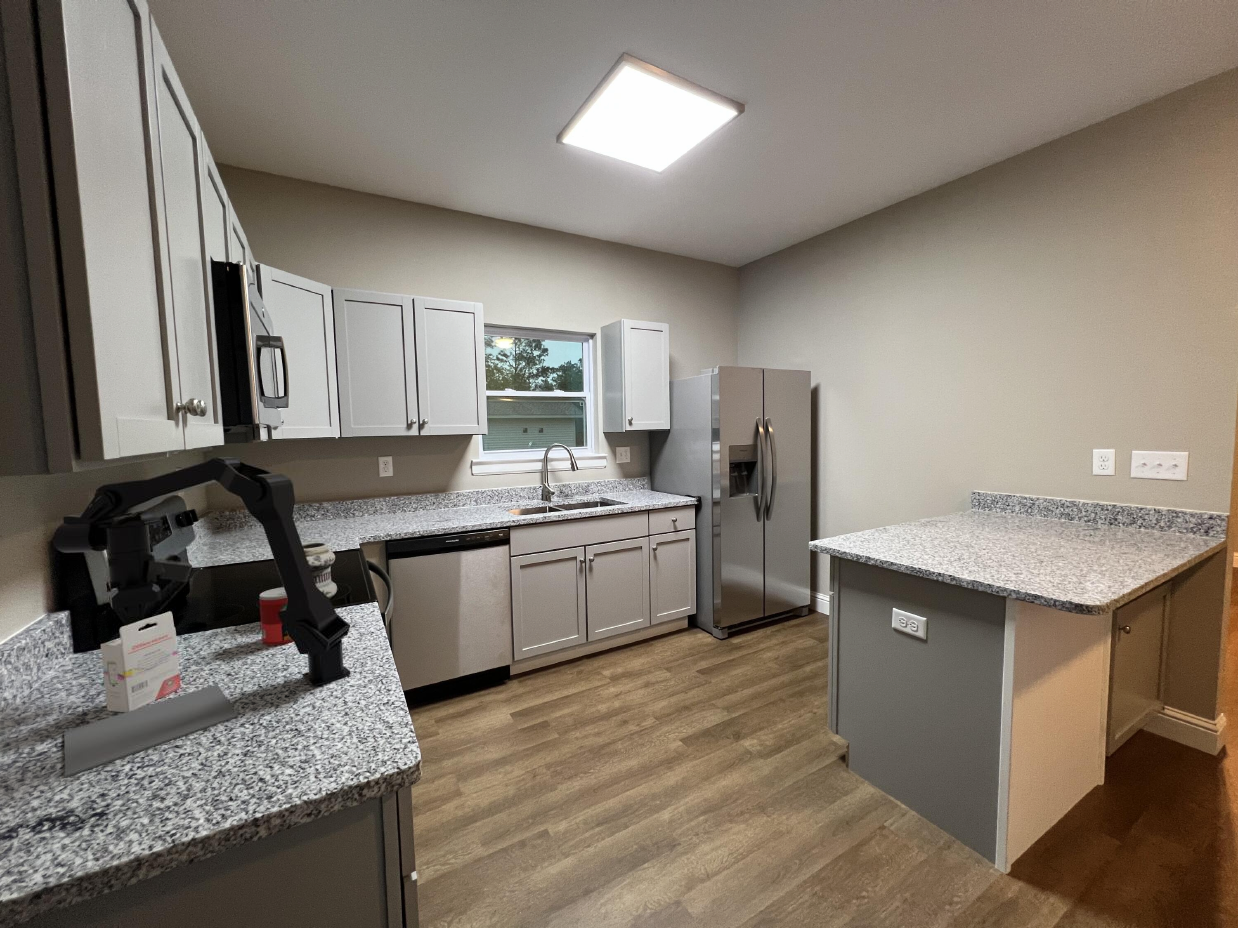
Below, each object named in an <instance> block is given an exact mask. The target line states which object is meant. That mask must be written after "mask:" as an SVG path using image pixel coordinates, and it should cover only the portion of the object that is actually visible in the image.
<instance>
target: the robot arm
mask: <svg viewBox="0 0 1238 928" xmlns="http://www.w3.org/2000/svg"><path fill="white" fill-rule="evenodd" d="M214 483H219V484H220V485H221V487H223V489H225V490H226V491H227V492H229V493H231V494H233V495H235V496H237V497H239V498H240V500H241V501H242V503H243V505H244V506H245V509H246V510H247V512H248V513H249V514H250V516H252V517H253V518H254V519H255V520H257V522H259V523H260V524H261V526H262V528H263V531H264V534H265V536H266V539H267V542H268V543H267V544H268V546H269V548H270V551H271V554H272V557H273V560H274V563H275V566H276V569H277V572H278V575H279V577H280V580H281V584H282V587H284V589H285V592H286V595H287V604H286V608H284V609H282V610H280V611H279V612H278V616H279V618H280V620H281V622H282V624H283V633H286V632H287V634H288V636H289V638H290V639H291V640H292V641H293V642H294V645H295V647H296V649H297V651H298V653H299V655H306V656H307V662H308V663H307V664H308V672H304V673H302V678H303V679H304V680H305V681H306V682H307V683H308V684H309V685H310V686H311V687H312V688H315V687H318V686H322V685H324V684H327V683H330V682H332V681H335V680H338V679H341V678H343V677H346V676H349V675H351V674H352V673H351V670H349V668H347V667H346V666H344V657H343V656H344V653H343V639H344V638H345V637H347V636H348V634H349V632H350V628H351V624H350V623H349V622H347V621H346V620H345V619H344V618H343V617H342V616H340V615H339V614H338V613H337V611H336V609H335V608H334V607H335V606H334V605H333V603H332V602H331V600H330V599H329V598H328V597H327V596H326V595H325V594H324V593H323V592H322V591H320V590H319V589H318V588H317V586H316V584H315V581H314V578H313V575H312V572H311V569H310V567H309V564H308V561H307V558H306V555H305V552H304V549H303V546H302V543H303V542H302V541H301V537H300V534H299V532H298V529H297V526H296V523H295V520H294V508H295V504H296V497H295V496H296V495H295V490H294V484H293V481H292V480H291V478H290V477H289V476H287V475H285V474H283V473H280V472H272V471H270V470H267V469H266V468H261V467H258V466H255V465H252V464H249V463H246V462H245V461H242V460H240V459H238V458H236V457H233V456H224V457H214V458H213V457H212V458H210V459H209V460H207V461H205V462H204V461H203V462H201V463H197V464H195V465H191V466H188V467H184V468H180V469H178V470H174V471H170V472H167V473H165V474H162V475H161V474H160V475H157V476H155V477H151V478H146V479H141V480H130V481H129V480H128V481H123V482H114V483H113V482H112V483H106V484H102V485H100V486H99V487H97V488H96V489H95V494H94V497H93V498H92V499H91V501H90V502H89V503H88V505H87V507H86V508H85V509H84V511H83V513H81V514H71V515H65V516H63V518H62V519H63V523H61V524H60V525H59V526H58V527H57V528H56V529H55V532H54V534H53V536H52V537H51V538H52V544H53V546H54V548H55V549H56V550H57V551H59V552H62V553H67V554H68V553H87V552H88V553H89V552H90V553H92V552H95V553H96V552H103V551H105V550H106V558H105V559H106V564H107V571H108V577H107V578H106V579H105V580H104V582H105V583H104V584H105V590H106V593H109V592H111V593H110V595H109V597H108V600H109V603H110V607H111V609H112V610H114V611H115V612H116V613H115V614H117V615H118V617H119V618H120V619H121V621H122V623H123V624H124V626H127V625H130V624H133V623H136V622H138V621H141V620H144V615H145V612H146V607H147V605H148V604H149V603H154V602H158V601H162V590H161V588H160V587H159V585H157V584H156V582H157V580H158V579H160V580H172V581H177V582H181V583H183V582H184V583H185V582H187V581H188V578H189V576H190V573H191V570H192V567H193V564H192V563H190V562H187V561H186V560H185V561H182V559H181V556H180V555H179V554H172V553H171V554H168V555H167V556H166V557H165V558H164V559H163V558H155V555H154V554H153V553H152V552H151V546H150V543H151V542H150V533H149V532H150V531H149V526H151V525H157V524H160V523H161V522H162V521H161V519H160V518H159V517H157V516H155V515H153V514H152V513H150V511H147V510H148V509H151V508H152V507H154V506H156V505H158V504H160V503H162V502H163V501H164V500H165V499H166V498H168V497H171V496H174V495H177V494H180V493H183V492H187V491H190V490H194V489H196V488H199V487H203V486H207V485H210V484H214ZM138 512H139V513H138ZM135 513H136V515H135V516H132V515H134V514H135ZM115 519H116V520H115ZM138 631H142V627H141V628H139V629H138Z"/></svg>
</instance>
